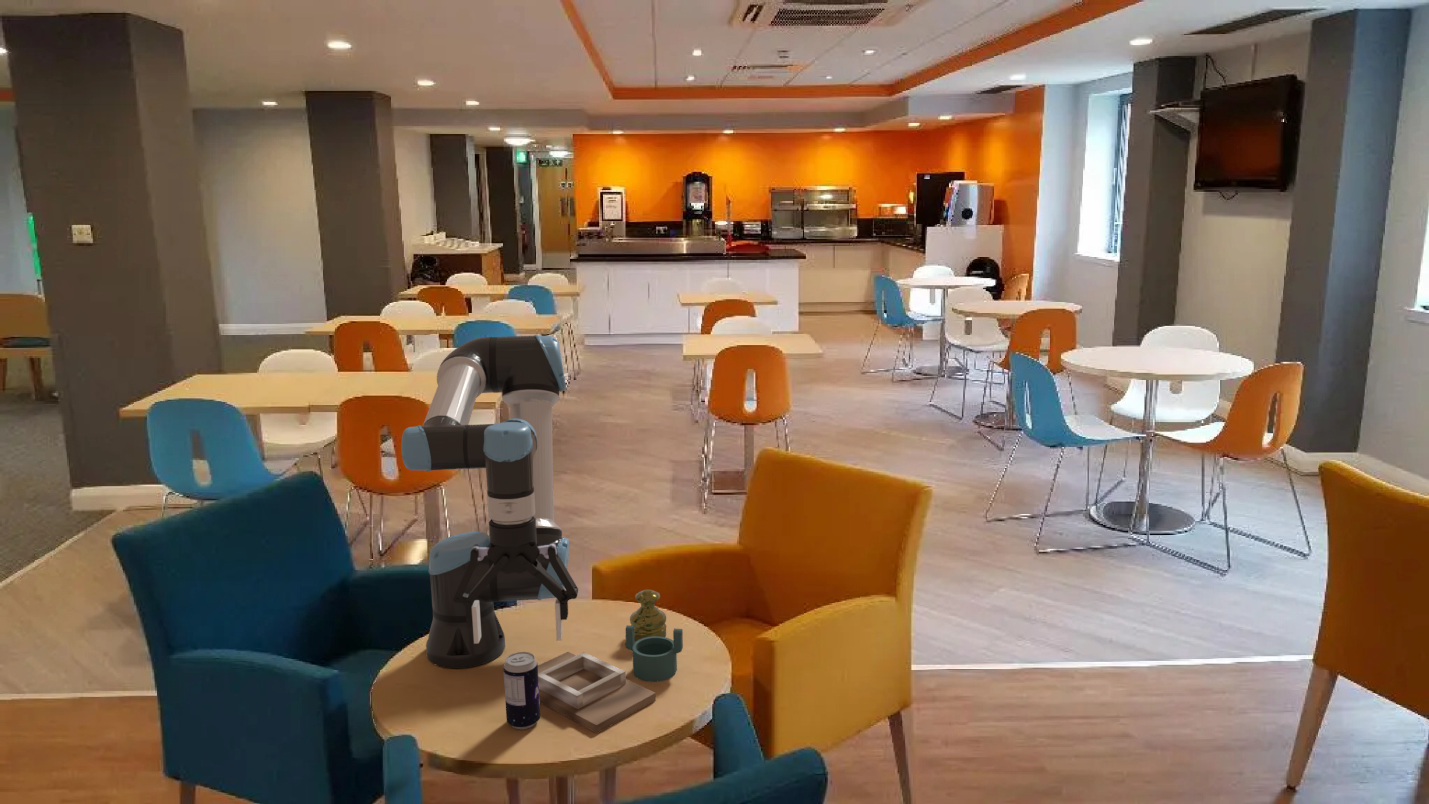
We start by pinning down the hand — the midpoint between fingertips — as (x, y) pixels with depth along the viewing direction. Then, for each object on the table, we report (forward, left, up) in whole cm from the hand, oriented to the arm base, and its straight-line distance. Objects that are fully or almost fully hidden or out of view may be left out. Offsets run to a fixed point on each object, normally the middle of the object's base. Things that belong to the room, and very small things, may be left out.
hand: (518, 638), depth 162 cm
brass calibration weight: (-7, +37, -16) cm, 41 cm away
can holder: (0, +13, -16) cm, 21 cm away
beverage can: (0, 0, -16) cm, 16 cm away
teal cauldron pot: (+4, +28, -16) cm, 33 cm away
